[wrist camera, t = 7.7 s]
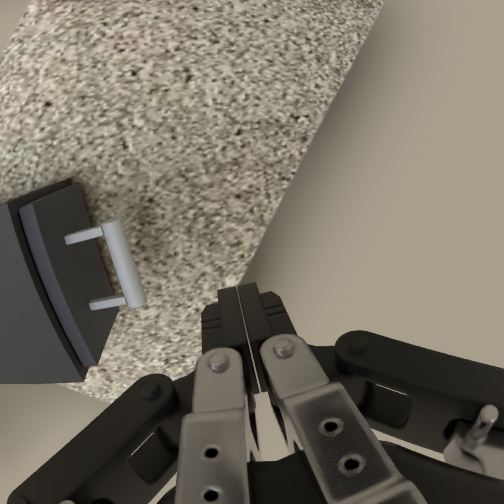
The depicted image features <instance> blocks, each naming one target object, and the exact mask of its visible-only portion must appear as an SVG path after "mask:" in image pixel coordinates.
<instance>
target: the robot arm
mask: <svg viewBox="0 0 504 504" xmlns="http://www.w3.org/2000/svg"><path fill="white" fill-rule="evenodd" d="M237 287H238V292H239V297H240V301H241V306H242V310H243V315H244V319H245V324H246V329H247V333H248V337H249V341H250V346H251V350H252V354H253V358H254V363H255V367H256V371H257V375H258V379H259V383H260V387H261V392H267V391H268V394H269V398H270V402H271V407H272V411H273V414H274V416H275V419H276V421H277V424H278V427H279V429H280V432H281V434H282V437H283V440H284V442H285V445H286V447H287V450H288V452H289V456H287V457H285V458H282V459H280V460H277V461H262V457H261V449H260V441H259V432H258V423H257V414H256V410H255V408H256V402H255V397H254V394H258V393H260V392H259V388H258V384H257V379H256V375H255V371H254V367H253V362H252V358H251V353H250V349H249V345H248V340H247V336H246V331H245V327H244V322H243V318H242V313H241V309H240V304H239V300H238V295H237V291H236V286H234V287H229V288H225V289H220V290H217V292H218V302H219V303H214V304H209V305H206V307H205V308H204V310H203V312H202V313H201V322H202V355H201V356H200V357H199V359H198V360H197V362H196V368H195V370H194V371H193V372H192V373H190V374H189V375H187V376H185V377H182V378H180V379H177V380H175V381H172V380H171V379H170V378H169V377H168V376H166V375H163V374H150V375H146V376H144V377H142V378H140V379H139V380H137V381H136V382H135V383H134V384H133V385H132V386H131V387H129V388H128V389H127V390H126V391H125V392H124V393H123V394H122V395H121V396H120V397H119V398H117V399H116V400H115V401H114V402H113V403H112V404H111V405H110V406H109V407H108V408H106V409H105V410H104V411H103V412H102V413H101V414H100V415H99V416H98V417H96V418H95V419H94V420H93V421H92V422H91V423H90V424H89V425H88V426H87V427H85V428H84V429H83V430H82V431H81V432H80V433H79V434H77V435H76V436H75V437H74V438H73V439H72V440H71V441H70V442H69V443H67V444H66V445H65V446H64V447H63V448H62V449H61V450H60V451H58V452H57V453H56V454H55V455H54V456H53V457H52V458H50V459H49V460H48V461H47V462H46V463H45V464H44V465H42V466H41V467H40V468H39V469H38V470H37V471H36V472H34V473H33V474H32V475H31V476H30V477H29V478H28V479H26V480H25V481H24V482H23V483H22V484H21V485H19V486H18V487H17V488H16V489H15V490H14V491H13V492H12V493H11V494H10V496H9V497H8V500H7V504H148V503H149V502H150V501H151V500H152V499H153V498H154V497H155V496H156V494H157V493H158V492H159V491H160V490H161V489H162V488H163V487H164V486H165V485H166V484H167V482H168V481H169V480H170V479H171V478H172V477H173V476H174V474H175V473H176V472H177V479H176V486H175V487H173V488H172V489H170V490H169V491H168V492H167V493H166V494H165V495H164V496H163V497H162V498H161V499H160V500H159V501H158V503H157V504H504V369H503V368H499V367H495V366H491V365H487V364H483V363H479V362H475V361H471V360H467V359H463V358H460V357H456V356H452V355H448V354H445V353H441V352H437V351H434V350H430V349H426V348H423V347H419V346H415V345H412V344H409V343H405V342H402V341H398V340H395V339H391V338H388V337H384V336H381V335H378V334H375V333H371V332H368V331H362V330H357V331H351V332H347V333H345V334H343V335H342V336H340V337H339V338H338V340H337V341H336V343H335V346H313V345H309V344H307V343H306V342H305V340H304V339H303V338H301V337H299V336H298V335H297V333H296V331H295V329H294V327H293V324H292V322H291V320H290V318H289V316H288V314H287V312H286V309H285V307H284V305H283V303H282V300H281V298H280V297H279V296H278V295H276V294H275V293H273V292H272V291H270V292H266V293H261V294H259V291H258V288H257V285H256V283H255V282H253V283H248V284H244V285H239V286H237ZM376 384H378V385H381V386H384V387H387V388H389V389H392V390H395V391H398V392H401V393H405V394H406V395H404V394H400V393H398V392H395V391H392V390H389V389H386V388H384V387H381V386H378V385H376ZM407 395H408V396H407ZM371 428H372V429H374V430H377V431H380V432H382V433H385V434H387V435H390V436H393V437H396V438H398V439H401V440H404V441H406V442H409V443H412V444H415V445H418V446H421V447H424V448H427V449H430V450H433V451H436V452H439V453H442V454H443V455H444V459H445V461H446V463H445V462H442V461H439V460H436V459H433V458H430V457H428V456H425V455H422V454H420V453H417V452H415V451H412V450H410V449H407V448H405V447H402V446H400V445H397V444H394V443H391V442H387V441H381V440H378V439H377V437H376V436H375V435H374V433H373V431H372V430H371ZM152 433H153V434H152ZM151 434H152V435H151ZM150 435H151V436H150ZM149 436H150V437H149ZM148 437H149V438H148ZM147 438H148V439H147ZM146 439H147V441H145V440H146ZM144 441H145V442H144ZM143 442H144V443H143ZM142 443H143V445H142V446H141V447H140V448H139V449H138V450H137V451H136V452H135V453H134V454H133V455H132V456H131V454H132V453H133V452H134V451H135V450H136V449H137V448H138V447H139V446H140V445H141V444H142ZM130 456H131V457H130Z"/></svg>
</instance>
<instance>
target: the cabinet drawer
mask: <svg viewBox="0 0 504 504" xmlns="http://www.w3.org/2000/svg"><path fill="white" fill-rule="evenodd" d="M18 211H19V213H18V217H19V221H20V224H21V227H22V231H23V234H24V237H25V240H26V243H27V246H28V249H29V252H30V255H31V258H32V260H33V263H34V266H35V269H36V271H37V274H38V276H39V279H40V281H41V284H42V286H43V289H44V291H45V294H46V296H47V298H48V300H49V303H50V305H51V307H52V309H53V312H54V314H55V316H56V318H57V320H58V322H59V324H60V326H61V328H62V330H63V332H64V334H65V336H66V338H67V340H68V342H69V344H70V346H71V347H73V349H74V350H75V352H76V354H77V356H78V358H79V359H80V361H81V363H82V365H83V367H89V366H97V365H98V363H99V360H100V357H101V354H102V352H103V349H104V346H105V344H106V341H107V339H108V336H109V333H110V331H111V328H112V326H113V323H114V321H115V318H116V316H117V313H118V311H119V306H120V305H125V304H128V306H129V307H130V308H138V307H141V306H143V305H144V304H145V303H146V302H147V298H146V296H145V293H144V290H143V287H142V284H141V281H140V278H139V275H138V271H137V268H136V265H135V262H134V259H133V255H132V252H131V249H130V245H129V242H128V238H127V235H126V231H125V228H124V224H123V220H122V217H120V216H118V217H113V218H110V219H107V220H105V221H103V222H102V223H101V225H99V226H95V227H91V224H90V220H89V216H88V213H87V209H86V205H85V201H84V198H83V194H82V189H81V185H80V183H77V184H74V185H71V186H68V187H65V188H63V189H60V190H58V191H56V192H53V193H51V194H49V195H46V196H44V197H42V198H40V199H37V200H35V201H33V202H31V203H29V204H26V205H24V206H22V207H20V208H18ZM103 235H104V236H105V239H106V242H107V246H108V249H109V252H110V255H111V258H112V261H113V264H114V267H115V270H116V273H117V276H118V279H119V282H120V285H121V288H122V290H123V293H124V294H119V295H114V293H113V291H112V288H111V285H110V282H109V280H108V277H107V274H106V271H105V268H104V265H103V262H102V259H101V256H100V253H99V250H98V247H97V244H96V240H95V238H96V237H100V236H103Z"/></svg>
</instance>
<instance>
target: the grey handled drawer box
mask: <svg viewBox="0 0 504 504" xmlns="http://www.w3.org/2000/svg"><path fill="white" fill-rule="evenodd" d="M71 185H72V184H71V180H70V178H68V179H65V180H62V181H60V182H57V183H54V184H51V185H48V186H46V187H43V188H40V189H38V190H35V191H32V192H30V193H27V194H25V195H22V196H20V197H17V198H15V199H12V200H10V201H8V202H5V203H3V204H1V205H0V384H46V383H49V384H50V383H72V382H84V380H85V377H86V374H87V372H88V369H89V367H83V365H82V363H81V361H80V359H79V358H78V356H77V354H76V352H75V350H74V349H73V347H71V346H70V344H69V342H68V340H67V338H66V336H65V334H64V332H63V330H62V328H61V326H60V324H59V322H58V320H57V318H56V316H55V314H54V312H53V309H52V307H51V305H50V303H49V300H48V298H47V296H46V294H45V291H44V289H43V286H42V284H41V281H40V279H39V276H38V274H37V271H36V269H35V266H34V263H33V260H32V258H31V255H30V252H29V249H28V246H27V243H26V240H25V237H24V234H23V231H22V227H21V224H20V221H19V217H18V213H19V211H18V208H20V207H22V206H24V205H26V204H29V203H31V202H33V201H35V200H37V199H40V198H42V197H44V196H46V195H49V194H51V193H53V192H56V191H58V190H60V189H63V188H65V187H68V186H71Z"/></svg>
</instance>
